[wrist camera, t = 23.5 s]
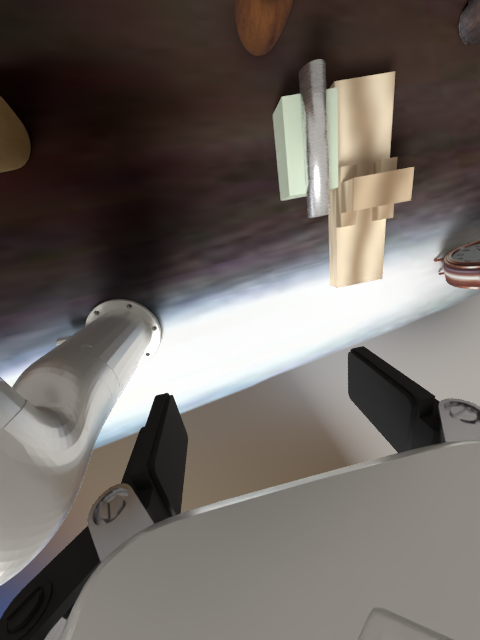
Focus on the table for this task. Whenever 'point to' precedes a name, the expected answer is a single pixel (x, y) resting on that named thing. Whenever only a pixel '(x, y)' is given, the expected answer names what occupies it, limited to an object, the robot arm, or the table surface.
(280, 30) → the wooden figurine
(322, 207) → the steel axle
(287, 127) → the block
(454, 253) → the alarm clock
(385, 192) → the maple beam
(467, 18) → the butter churn
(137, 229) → the table surface
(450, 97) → the table surface
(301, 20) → the table surface
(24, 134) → the plant pot
